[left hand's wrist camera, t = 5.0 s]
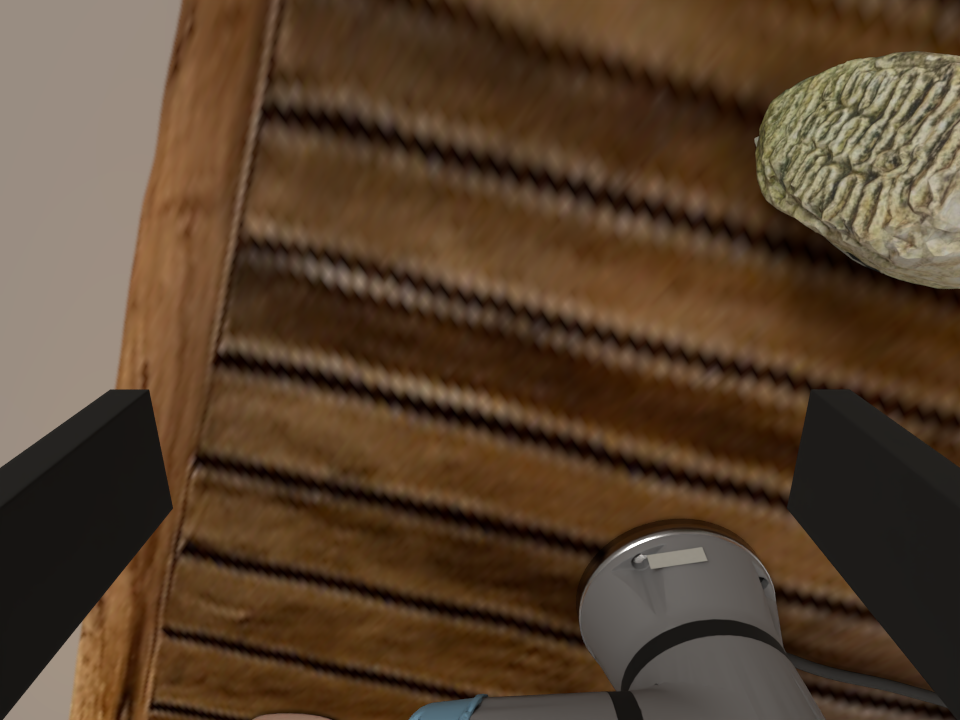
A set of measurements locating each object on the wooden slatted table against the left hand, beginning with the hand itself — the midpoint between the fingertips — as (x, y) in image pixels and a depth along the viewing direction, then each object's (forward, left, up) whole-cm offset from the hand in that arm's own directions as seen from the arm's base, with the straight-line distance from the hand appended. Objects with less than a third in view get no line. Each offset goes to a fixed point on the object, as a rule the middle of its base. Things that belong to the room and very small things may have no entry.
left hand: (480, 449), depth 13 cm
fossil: (-22, -8, -30) cm, 38 cm away
